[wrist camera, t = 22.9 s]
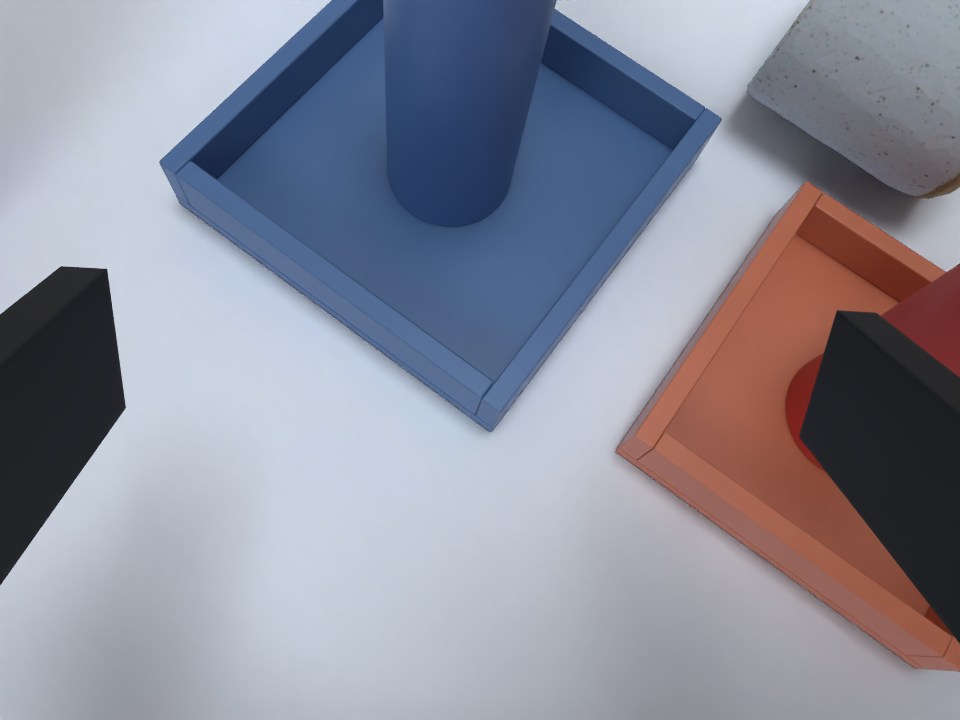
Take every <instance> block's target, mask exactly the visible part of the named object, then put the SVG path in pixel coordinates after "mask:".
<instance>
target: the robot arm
mask: <svg viewBox="0 0 960 720" xmlns="http://www.w3.org/2000/svg"><path fill="white" fill-rule="evenodd" d="M125 408H126V406H125V399H124V391H123V384H122V377H121V369H120V362H119V354H118V347H117V339H116V332H115V325H114V317H113V310H112V302H111V295H110V287H109V280H108V273H107V269H98V268H80V267H62V266H61V267H60V268H58V269H57V270H56V271H55V272H53V273H52V274H51V275H49V276H48V277H47V278H46V279H44V280H43V281H42V282H41V283H39V284H38V285H37V286H36V287H34V288H33V289H32V290H31V291H29V292H28V293H27V294H26V295H24V296H23V297H22V298H20V299H19V300H18V301H17V302H15V303H14V304H13V305H12V306H10V307H9V308H8V309H7V310H5V311H4V312H3V313H2V314H0V585H1V584H2V582H3V581H4V579H5V578H6V576H7V575H8V574H9V572H10V571H11V569H12V568H13V567H14V565H15V564H16V562H17V561H18V559H19V558H20V557H21V555H22V554H23V552H24V551H25V550H26V548H27V547H28V545H29V544H30V543H31V541H32V540H33V538H34V537H35V535H36V534H37V533H38V531H39V530H40V528H41V527H42V526H43V524H44V523H45V521H46V520H47V518H48V517H49V516H50V514H51V513H52V511H53V510H54V509H55V507H56V506H57V504H58V503H59V502H60V500H61V499H62V497H63V496H64V494H65V493H66V492H67V490H68V489H69V487H70V486H71V485H72V483H73V482H74V480H75V479H76V477H77V476H78V475H79V473H80V472H81V470H82V469H83V468H84V466H85V465H86V463H87V462H88V460H89V459H90V458H91V456H92V455H93V453H94V452H95V451H96V449H97V448H98V446H99V445H100V444H101V442H102V441H103V439H104V438H105V436H106V435H107V434H108V432H109V431H110V429H111V428H112V427H113V425H114V424H115V422H116V421H117V419H118V418H119V417H120V415H121V414H122V412H123V411H124V410H125ZM799 438H800V439H801V440H802V442H803V443H804V444H805V446H806V447H807V448H808V449H809V451H810V452H811V453H812V455H813V456H814V457H815V458H816V460H817V461H818V462H819V464H820V465H821V466H822V467H823V469H824V470H825V471H826V473H827V474H828V475H829V476H830V478H831V479H832V480H833V482H834V483H835V484H836V485H837V487H838V488H839V489H840V491H841V492H842V493H843V494H844V496H845V497H846V498H847V500H848V501H849V502H850V503H851V505H852V506H853V507H854V509H855V510H856V511H857V512H858V514H859V515H860V516H861V518H862V519H863V520H864V521H865V523H866V524H867V525H868V527H869V528H870V529H871V530H872V532H873V533H874V534H875V536H876V537H877V538H878V539H879V541H880V542H881V543H882V545H883V546H884V547H885V548H886V550H887V551H888V552H889V554H890V555H891V556H892V557H893V559H894V560H895V561H896V563H897V564H898V565H899V566H900V568H901V569H902V570H903V572H904V573H905V574H906V575H907V577H908V578H909V579H910V581H911V582H912V583H913V584H914V586H915V587H916V588H917V590H918V591H919V592H920V593H921V595H922V596H923V597H924V599H925V600H926V601H927V602H928V604H929V605H930V606H931V608H932V609H933V610H934V611H935V613H936V614H937V615H938V617H939V618H940V619H941V620H942V622H943V623H944V624H945V626H946V627H947V628H948V629H949V631H950V632H951V633H952V635H953V636H954V637H955V638H956V640H957V641H958V642H959V644H960V377H958V376H957V375H956V374H954V373H953V372H952V371H951V370H949V369H948V368H947V367H945V366H944V365H943V364H942V363H940V362H939V361H938V360H936V359H935V358H934V357H933V356H931V355H930V354H929V353H927V352H926V351H925V350H924V349H922V348H921V347H920V346H918V345H917V344H916V343H915V342H913V341H912V340H911V339H909V338H908V337H907V336H906V335H904V334H903V333H902V332H900V331H899V330H898V329H897V328H895V327H894V326H893V325H891V324H890V323H889V322H888V321H886V320H885V319H884V318H882V317H881V316H880V315H879V314H877V313H876V312H858V311H840V310H837V311H836V314H835V318H834V321H833V324H832V328H831V331H830V334H829V338H828V341H827V344H826V348H825V351H824V354H823V358H822V361H821V364H820V368H819V371H818V374H817V378H816V381H815V384H814V388H813V391H812V394H811V398H810V401H809V404H808V408H807V411H806V414H805V418H804V421H803V424H802V428H801V431H800V434H799Z"/></svg>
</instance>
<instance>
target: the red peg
mask: <svg viewBox="0 0 960 720" xmlns="http://www.w3.org/2000/svg"><path fill="white" fill-rule="evenodd" d="M880 316H881V317H882V318H884V319H885V320H886V321H888V322H889V323H890V324H891V325H893V326H894V327H895V328H897V329H898V330H899V331H900V332H902V333H903V334H904V335H906V336H907V337H908V338H909V339H911V340H912V341H913V342H915V343H916V344H917V345H918V346H920V347H921V348H922V349H924V350H925V351H926V352H927V353H929V354H930V355H931V356H933V357H934V358H935V359H936V360H938V361H939V362H940V363H942V364H943V365H944V366H945V367H947V368H948V369H949V370H951V371H952V372H953V373H954V374H956V375H957V376H958V377H960V264H959V265H957V266H955V267H954V268H952V269H951V270H949V271H948V272H946V273H945V274H943V275H942V276H940V277H939V278H937V279H936V280H934V281H932V282H931V283H929V284H928V285H926V286H925V287H923V288H922V289H920V290H919V291H917V292H916V293H914V294H913V295H911V296H909V297H908V298H906V299H905V300H903V301H902V302H900V303H899V304H897V305H896V306H894V307H893V308H891V309H889V310H888V311H886V312H885V313H883V314H882V315H880ZM823 354H824V352H823V353H822V354H820V355H819V356H817V357H816V358H814V359H813V360H811V361H810V362H808V363H807V364H806V365H804V366H803V367H802V368H801V369H800V370H799V371H798V372H797V373H796V375H795V376H794V378H793V379H792V381H791V383H790V386H789V389H788V392H787V397H786V417H787V422H788V426H789V429H790V431H791V434H792V436H793V438H794V440H795V442H796V443H797V445H798V447H799V448H800V449H801V451H802V452H803V453H804V454H805V456H806V457H807V458H809V459H810V460H811V461H812V462H813V463H814V464H815V465H817V466H818V467H819V468H821V469H822V470H824V469H823V467H822V466H821V465H820V464H819V462H818V461H817V460H816V458H815V457H814V456H813V455H812V453H811V452H810V451H809V449H808V448H807V447H806V446H805V444H804V443H803V442H802V440H801V439H800V438H799V434H800V431H801V428H802V424H803V421H804V418H805V414H806V411H807V408H808V404H809V401H810V398H811V394H812V391H813V388H814V384H815V381H816V378H817V374H818V371H819V368H820V364H821V361H822V358H823ZM824 471H825V470H824Z"/></svg>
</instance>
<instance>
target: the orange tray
mask: <svg viewBox="0 0 960 720" xmlns="http://www.w3.org/2000/svg"><path fill="white" fill-rule="evenodd" d="M945 273H946V272H945V271H943V270H942V269H940V268H939V267H937V266H936V265H934V264H933V263H931V262H930V261H928V260H927V259H925V258H923V257H922V256H920V255H919V254H917V253H916V252H914V251H913V250H911V249H910V248H908V247H907V246H905V245H904V244H902V243H901V242H899V241H897V240H896V239H894V238H893V237H891V236H890V235H888V234H887V233H885V232H884V231H882V230H881V229H879V228H878V227H876V226H874V225H873V224H871V223H870V222H868V221H867V220H865V219H864V218H862V217H861V216H859V215H858V214H856V213H855V212H853V211H852V210H850V209H848V208H847V207H845V206H844V205H842V204H841V203H839V202H838V201H836V200H835V199H833V198H832V197H830V196H829V195H827V194H826V193H822V191H821V190H819V189H818V188H816V187H815V186H813V185H812V184H810V183H809V182H805V183H804V184H803V185H802V186H801V187H800V188H799V189H798V191H797V192H796V193H795V194H794V195H793V196H792V197H791V198H790V199H789V200H788V202H787V203H786V204H785V205H784V206H783V207H782V208H781V209H780V210H779V211H778V213H777V214H776V215H775V217H774V218H773V220H772V221H771V223H770V224H769V225H768V227H767V228H766V230H765V231H764V233H763V234H762V236H761V237H760V239H759V240H758V242H757V243H756V245H755V246H754V247H753V249H752V250H751V252H750V253H749V255H748V256H747V258H746V259H745V261H744V262H743V264H742V265H741V267H740V268H739V269H738V271H737V272H736V274H735V275H734V277H733V278H732V280H731V281H730V283H729V284H728V286H727V287H726V289H725V290H724V292H723V293H722V294H721V296H720V297H719V299H718V300H717V302H716V303H715V305H714V306H713V308H712V309H711V311H710V312H709V314H708V315H707V316H706V318H705V319H704V321H703V322H702V324H701V325H700V327H699V328H698V330H697V331H696V333H695V334H694V336H693V337H692V338H691V340H690V341H689V343H688V344H687V346H686V347H685V349H684V350H683V352H682V353H681V355H680V356H679V358H678V359H677V360H676V362H675V363H674V365H673V366H672V368H671V369H670V371H669V372H668V374H667V375H666V377H665V378H664V380H663V381H662V382H661V384H660V385H659V387H658V388H657V390H656V391H655V393H654V394H653V396H652V397H651V399H650V400H649V402H648V403H647V405H646V406H645V407H644V409H643V410H642V412H641V413H640V415H639V416H638V418H637V419H636V421H635V422H634V424H633V425H632V427H631V428H630V429H629V431H628V432H627V434H626V435H625V437H624V438H623V440H622V441H621V443H620V444H619V446H618V447H617V449H616V452H617V453H619V454H620V455H621V456H623V457H624V458H626V459H627V460H628V461H630V462H631V463H632V464H634V465H635V466H637V467H638V468H639V469H641V470H642V471H644V472H645V473H646V474H648V475H649V476H650V477H652V478H653V479H655V480H656V481H657V482H659V483H660V484H661V485H663V486H664V487H666V488H667V489H668V490H670V491H671V492H673V493H674V494H675V495H677V496H678V497H679V498H681V499H682V500H684V501H685V502H686V503H688V504H689V505H690V506H692V507H693V508H695V509H696V510H697V511H699V512H700V513H702V514H703V515H704V516H706V517H707V518H708V519H710V520H711V521H713V522H714V523H715V524H717V525H718V526H719V527H721V528H722V529H724V530H725V531H726V532H728V533H729V534H731V535H732V536H733V537H735V538H736V539H737V540H739V541H740V542H742V543H743V544H744V545H746V546H747V547H748V548H750V549H751V550H753V551H754V552H755V553H757V554H758V555H760V556H761V557H762V558H764V559H765V560H766V561H768V562H769V563H771V564H772V565H773V566H775V567H776V568H777V569H779V570H780V571H782V572H783V573H784V574H786V575H787V576H788V577H790V578H791V579H793V580H794V581H795V582H797V583H798V584H800V585H801V586H802V587H804V588H805V589H806V590H808V591H809V592H811V593H812V594H813V595H815V596H816V597H817V598H819V599H820V600H822V601H823V602H824V603H826V604H827V605H829V606H830V607H831V608H833V609H834V610H835V611H837V612H838V613H840V614H841V615H842V616H844V617H845V618H846V619H848V620H849V621H851V622H852V623H853V624H855V625H856V626H858V627H859V628H860V629H862V630H863V631H864V632H866V633H867V634H869V635H870V636H871V637H873V638H874V639H875V640H877V641H878V642H880V643H881V644H882V645H884V646H885V647H887V648H888V649H889V650H891V651H892V652H893V653H895V654H896V655H898V656H899V657H900V658H902V659H903V660H904V661H906V662H907V663H909V664H910V665H911V666H913V667H914V668H920V669H924V668H925V669H933V670H947V671H960V644H959V642H958V641H957V640H956V638H955V637H954V636H953V635H952V633H951V632H950V631H949V629H948V628H947V627H946V626H945V624H944V623H943V622H942V620H941V619H940V618H939V617H938V615H937V614H936V613H935V611H934V610H933V609H932V608H931V606H930V605H929V604H928V602H927V601H926V600H925V599H924V597H923V596H922V595H921V593H920V592H919V591H918V590H917V588H916V587H915V586H914V584H913V583H912V582H911V581H910V579H909V578H908V577H907V575H906V574H905V573H904V572H903V570H902V569H901V568H900V566H899V565H898V564H897V563H896V561H895V560H894V559H893V557H892V556H891V555H890V554H889V552H888V551H887V550H886V548H885V547H884V546H883V545H882V543H881V542H880V541H879V539H878V538H877V537H876V536H875V534H874V533H873V532H872V530H871V529H870V528H869V527H868V525H867V524H866V523H865V521H864V520H863V519H862V518H861V516H860V515H859V514H858V512H857V511H856V510H855V509H854V507H853V506H852V505H851V503H850V502H849V501H848V500H847V498H846V497H845V496H844V494H843V493H842V492H841V491H840V489H839V488H838V487H837V485H836V484H835V483H834V482H833V480H832V479H831V478H830V476H829V475H828V474H827V473H826V471H824V470H822V469H821V468H819V467H818V466H817V465H815V464H814V463H813V462H812V461H811V460H810V459H809V458H807V457H806V456H805V454H804V453H803V452H802V451H801V449H800V448H799V447H798V445H797V443H796V442H795V440H794V438H793V436H792V434H791V431H790V429H789V426H788V422H787V417H786V397H787V392H788V389H789V386H790V383H791V381H792V379H793V378H794V376H795V375H796V373H797V372H798V371H799V370H800V369H801V368H802V367H803V366H804V365H806V364H807V363H808V362H810V361H811V360H813V359H814V358H816V357H817V356H819V355H820V354H822V353H823V352H824V351H825V348H826V344H827V341H828V338H829V334H830V331H831V328H832V324H833V321H834V318H835V314H836V311H837V310H840V311H858V312H876V313H877V314H879V315H882V314H883V313H885V312H886V311H888V310H889V309H891V308H893V307H894V306H896V305H897V304H899V303H900V302H902V301H903V300H905V299H906V298H908V297H909V296H911V295H913V294H914V293H916V292H917V291H919V290H920V289H922V288H923V287H925V286H926V285H928V284H929V283H931V282H932V281H934V280H936V279H937V278H939V277H940V276H942V275H943V274H945Z"/></svg>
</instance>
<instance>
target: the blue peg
mask: <svg viewBox="0 0 960 720" xmlns="http://www.w3.org/2000/svg"><path fill="white" fill-rule="evenodd" d="M555 4H556V0H383V17H384V57H385V97H386V137H387V172H388V180H389V184H390V186H391V189H392V191H393V193H394V195H395V197H396V198H397V199H398V201H399V202H400V203H401V204H402V205H403V207H404V208H405V209H407V210H408V211H409V212H410V213H412V214H413V215H415V216H416V217H418V218H420V219H422V220H424V221H426V222H429V223H432V224H436V225H441V226H463V225H468V224H472V223H475V222H477V221H480V220H482V219H484V218H485V217H487V216H489V215H490V214H491V213H493V212H494V211H495V210H496V209H497V208H498V207H499V206H500V205H501V203H502V202H503V201H504V199H505V197H506V195H507V193H508V190H509V187H510V184H511V180H512V176H513V172H514V168H515V164H516V160H517V156H518V152H519V148H520V144H521V140H522V136H523V132H524V128H525V124H526V120H527V116H528V112H529V108H530V104H531V100H532V96H533V92H534V88H535V84H536V80H537V76H538V72H539V68H540V64H541V60H542V56H543V52H544V48H545V44H546V40H547V36H548V32H549V28H550V24H551V20H552V16H553V12H554V8H555Z"/></svg>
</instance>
